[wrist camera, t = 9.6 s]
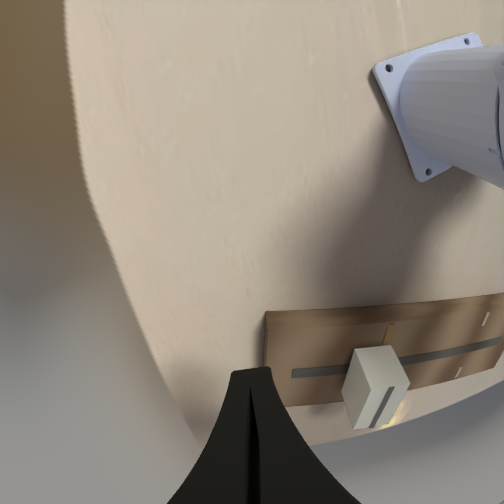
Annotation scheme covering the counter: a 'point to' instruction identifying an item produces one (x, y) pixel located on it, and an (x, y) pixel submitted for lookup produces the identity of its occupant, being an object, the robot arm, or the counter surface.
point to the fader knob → (373, 386)
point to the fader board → (381, 343)
